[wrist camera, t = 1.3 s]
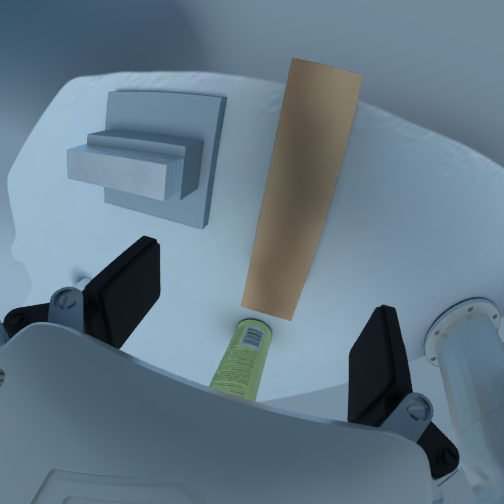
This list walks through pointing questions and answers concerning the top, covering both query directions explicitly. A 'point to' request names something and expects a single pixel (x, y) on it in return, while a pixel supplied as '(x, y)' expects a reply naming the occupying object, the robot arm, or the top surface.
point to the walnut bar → (300, 183)
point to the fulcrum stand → (155, 154)
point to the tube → (243, 360)
